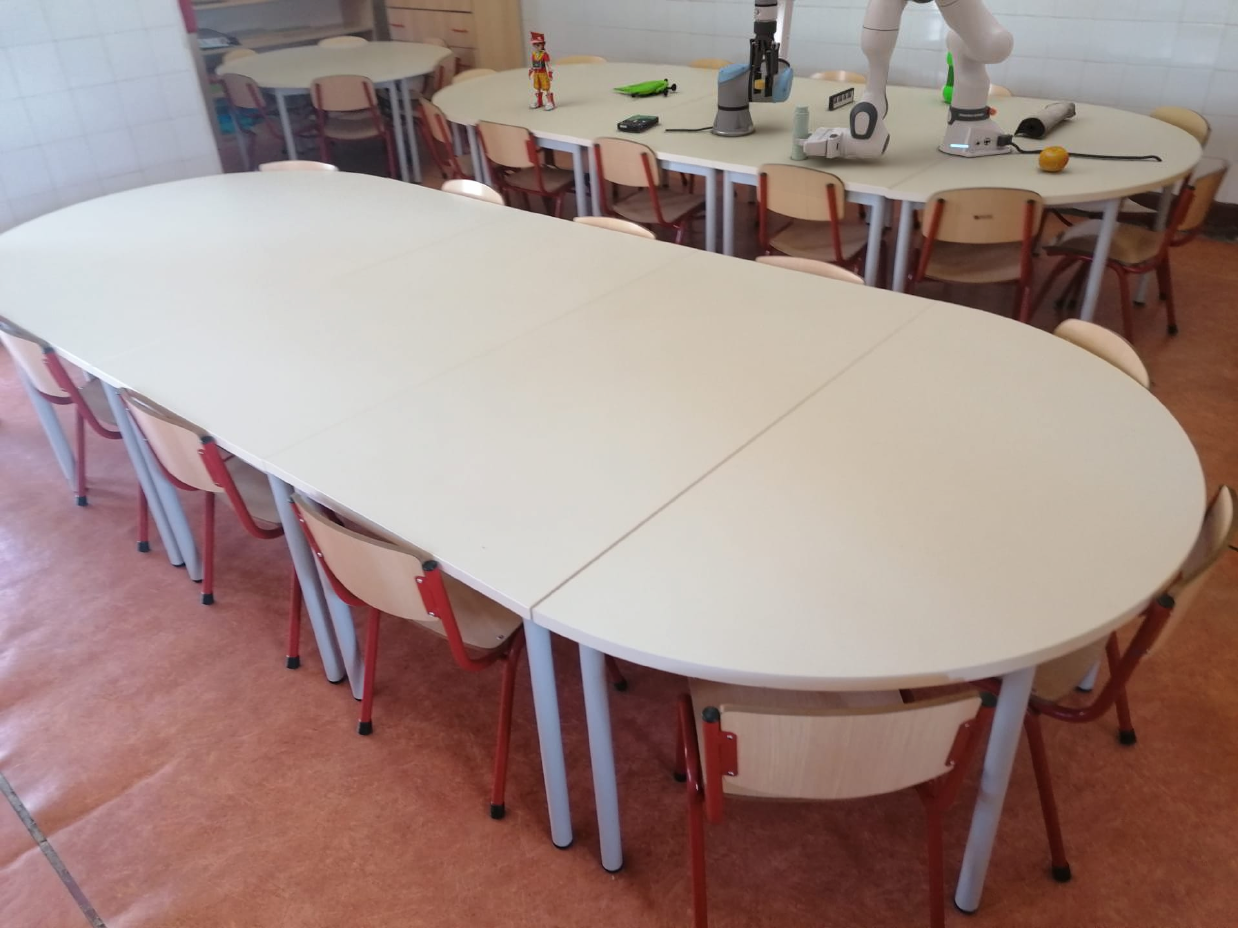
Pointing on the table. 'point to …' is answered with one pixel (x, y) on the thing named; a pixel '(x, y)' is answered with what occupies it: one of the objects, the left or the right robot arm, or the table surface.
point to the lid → (760, 84)
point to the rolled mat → (1045, 119)
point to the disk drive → (638, 123)
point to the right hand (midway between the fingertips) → (797, 138)
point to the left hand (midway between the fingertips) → (762, 95)
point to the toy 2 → (648, 88)
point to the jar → (800, 130)
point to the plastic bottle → (949, 80)
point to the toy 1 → (541, 71)
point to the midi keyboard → (841, 98)
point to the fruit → (1053, 158)
